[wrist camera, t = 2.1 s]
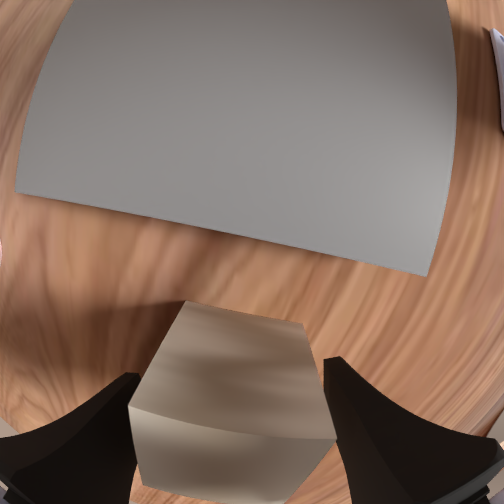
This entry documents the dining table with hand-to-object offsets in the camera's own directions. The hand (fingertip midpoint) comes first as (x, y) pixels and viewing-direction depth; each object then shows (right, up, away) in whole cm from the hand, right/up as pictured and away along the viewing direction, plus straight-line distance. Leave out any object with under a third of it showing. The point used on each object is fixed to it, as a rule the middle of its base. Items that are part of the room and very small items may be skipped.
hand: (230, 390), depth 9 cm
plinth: (+1, +13, -1) cm, 13 cm away
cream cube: (0, +1, +2) cm, 2 cm away
